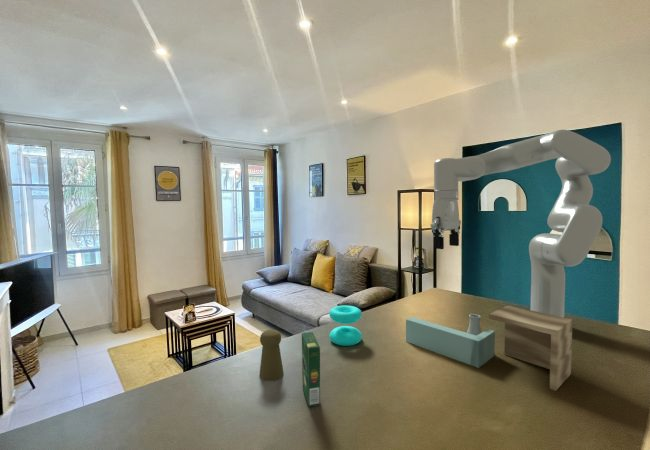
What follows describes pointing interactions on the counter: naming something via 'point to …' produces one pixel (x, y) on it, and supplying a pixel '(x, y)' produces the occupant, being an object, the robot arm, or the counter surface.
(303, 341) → the coffee box
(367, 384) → the counter surface
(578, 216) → the robot arm
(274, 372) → the olive pawn
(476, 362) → the block
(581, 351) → the counter surface
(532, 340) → the wooden corner bracket
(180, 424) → the counter surface
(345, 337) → the donuts
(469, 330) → the flask
